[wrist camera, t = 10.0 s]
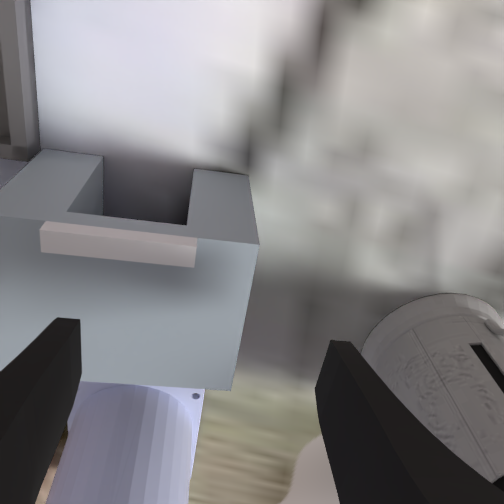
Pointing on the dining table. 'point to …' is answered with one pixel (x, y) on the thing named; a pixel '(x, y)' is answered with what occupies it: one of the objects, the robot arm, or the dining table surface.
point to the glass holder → (448, 373)
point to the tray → (17, 83)
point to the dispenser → (127, 274)
